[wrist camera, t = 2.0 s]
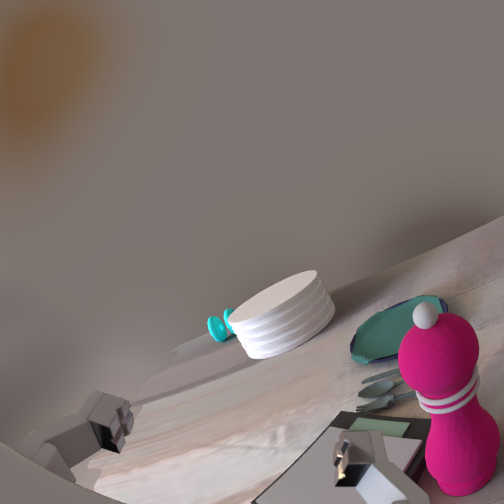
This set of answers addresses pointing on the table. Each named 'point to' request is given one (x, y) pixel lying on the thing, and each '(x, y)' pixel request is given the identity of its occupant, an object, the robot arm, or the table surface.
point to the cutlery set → (386, 347)
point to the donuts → (220, 326)
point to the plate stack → (283, 315)
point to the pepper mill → (450, 399)
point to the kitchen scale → (322, 469)
